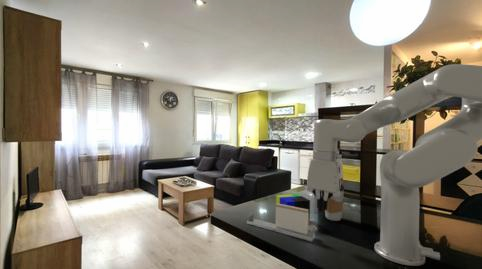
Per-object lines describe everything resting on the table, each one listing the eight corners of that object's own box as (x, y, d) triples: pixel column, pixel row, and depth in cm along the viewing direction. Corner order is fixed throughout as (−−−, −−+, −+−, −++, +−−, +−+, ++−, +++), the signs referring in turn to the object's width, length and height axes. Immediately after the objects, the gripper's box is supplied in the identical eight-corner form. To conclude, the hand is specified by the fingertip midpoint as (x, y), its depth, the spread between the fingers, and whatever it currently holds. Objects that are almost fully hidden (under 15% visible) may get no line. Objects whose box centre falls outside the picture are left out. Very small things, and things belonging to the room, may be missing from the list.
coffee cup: (346, 218, 98) (347, 183, 98) (339, 223, 92) (340, 186, 92) (327, 213, 104) (328, 180, 104) (319, 218, 98) (320, 183, 98)
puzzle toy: (286, 227, 87) (287, 202, 87) (275, 218, 97) (276, 195, 97) (309, 225, 90) (310, 200, 90) (296, 216, 100) (297, 193, 100)
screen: (308, 233, 79) (308, 209, 79) (307, 234, 78) (307, 210, 78) (276, 224, 86) (277, 203, 86) (275, 226, 85) (275, 204, 85)
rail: (314, 237, 79) (315, 229, 79) (311, 241, 76) (311, 232, 76) (251, 220, 94) (251, 213, 94) (246, 223, 91) (246, 216, 91)
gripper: (351, 157, 75) (348, 213, 75) (306, 153, 83) (303, 203, 83) (347, 159, 68) (344, 220, 69) (299, 155, 77) (296, 208, 77)
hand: (322, 210), depth 76 cm, fingers closed
